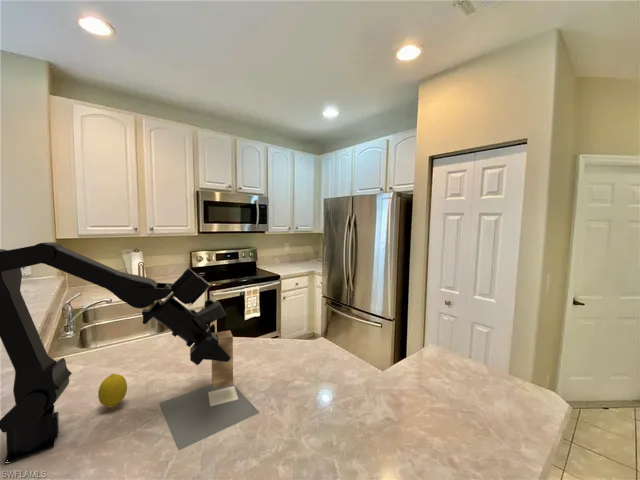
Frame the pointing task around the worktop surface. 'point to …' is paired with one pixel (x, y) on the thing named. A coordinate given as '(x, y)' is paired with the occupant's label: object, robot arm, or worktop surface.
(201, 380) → the worktop surface
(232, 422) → the mat
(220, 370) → the oak block
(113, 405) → the lemon
